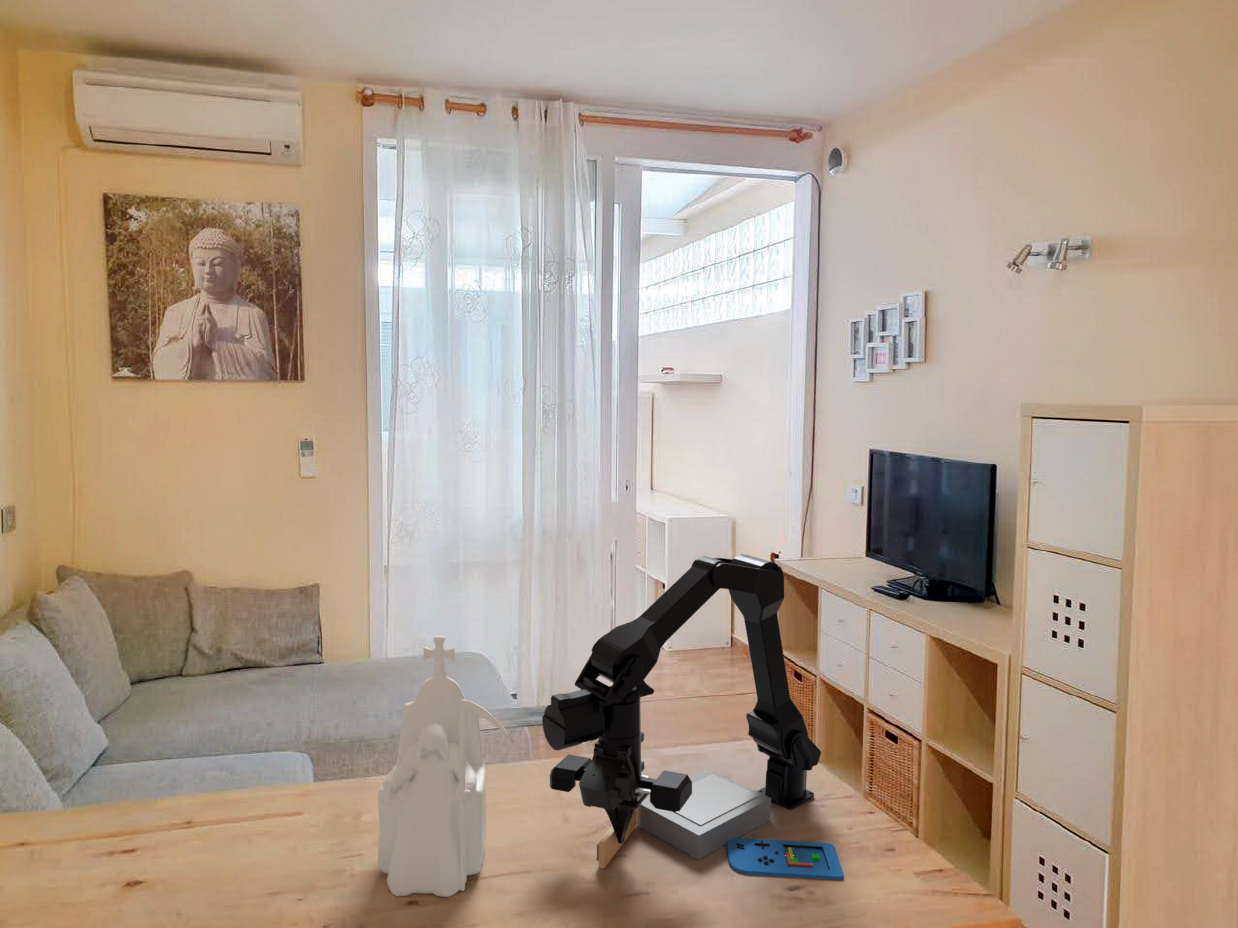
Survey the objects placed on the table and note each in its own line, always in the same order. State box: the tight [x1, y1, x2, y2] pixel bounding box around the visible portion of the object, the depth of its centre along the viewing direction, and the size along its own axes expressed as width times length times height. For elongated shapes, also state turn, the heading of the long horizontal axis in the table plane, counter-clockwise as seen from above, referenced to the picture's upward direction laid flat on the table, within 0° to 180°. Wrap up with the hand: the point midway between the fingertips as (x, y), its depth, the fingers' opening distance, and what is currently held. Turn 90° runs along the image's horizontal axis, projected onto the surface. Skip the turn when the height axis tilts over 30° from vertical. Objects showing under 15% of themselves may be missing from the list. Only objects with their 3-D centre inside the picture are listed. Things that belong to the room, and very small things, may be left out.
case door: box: [596, 808, 637, 869], centre depth 122 cm, size 1×12×4 cm, turn 158°
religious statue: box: [377, 635, 509, 898], centre depth 114 cm, size 17×14×30 cm
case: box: [636, 769, 772, 860], centre depth 129 cm, size 16×12×4 cm
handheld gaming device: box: [726, 837, 845, 881], centre depth 120 cm, size 8×1×15 cm
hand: (621, 841), depth 120 cm, fingers closed
